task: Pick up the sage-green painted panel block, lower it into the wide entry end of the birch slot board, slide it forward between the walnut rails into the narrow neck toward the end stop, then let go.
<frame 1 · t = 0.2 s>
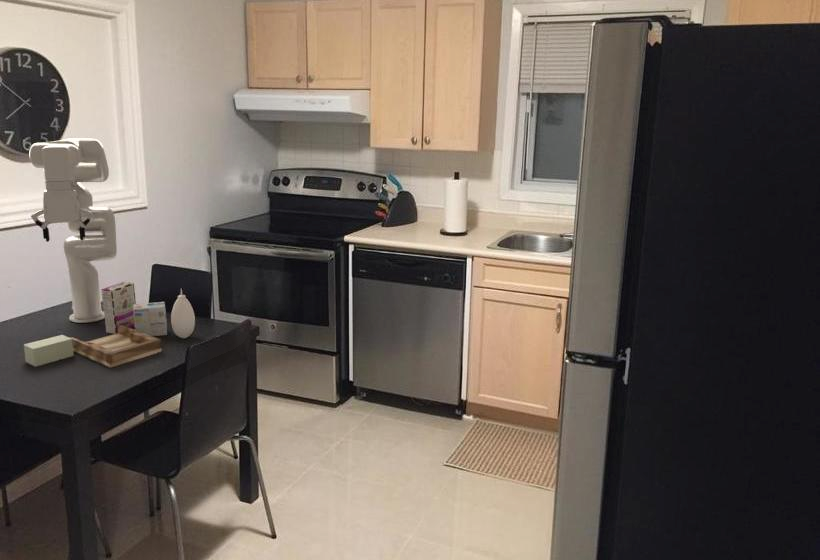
hand: (65, 240, 208), 37 cm above the table, tool pointing down, fingers open, 9 cm apart
panel: (50, 359, 208), on the table
slot board: (116, 350, 216), on the table
candy bar box: (122, 329, 237), on the table
light bulb box: (151, 334, 233), on the table
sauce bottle: (184, 337, 230), on the table
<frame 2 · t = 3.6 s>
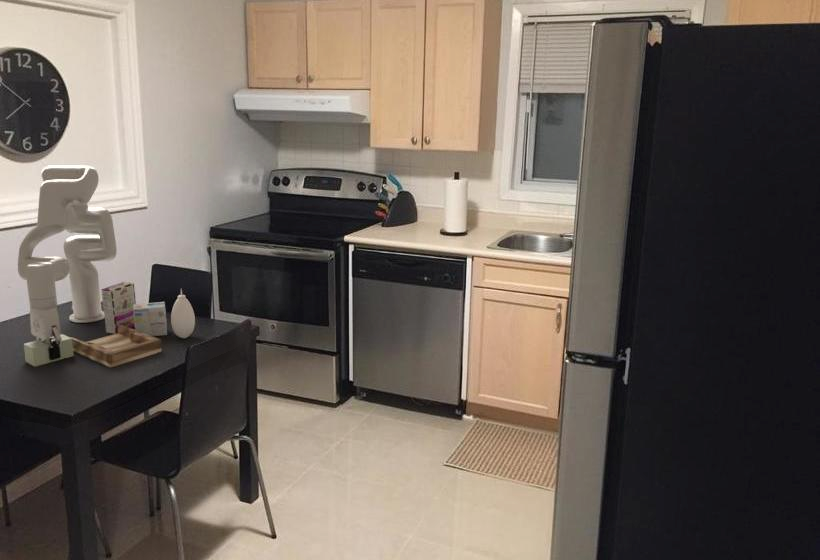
hand: (49, 355, 208), 1 cm above the table, tool pointing down, fingers closed on panel, 6 cm apart
panel: (50, 358, 208), on the table, touching gripper
everything else where it was.
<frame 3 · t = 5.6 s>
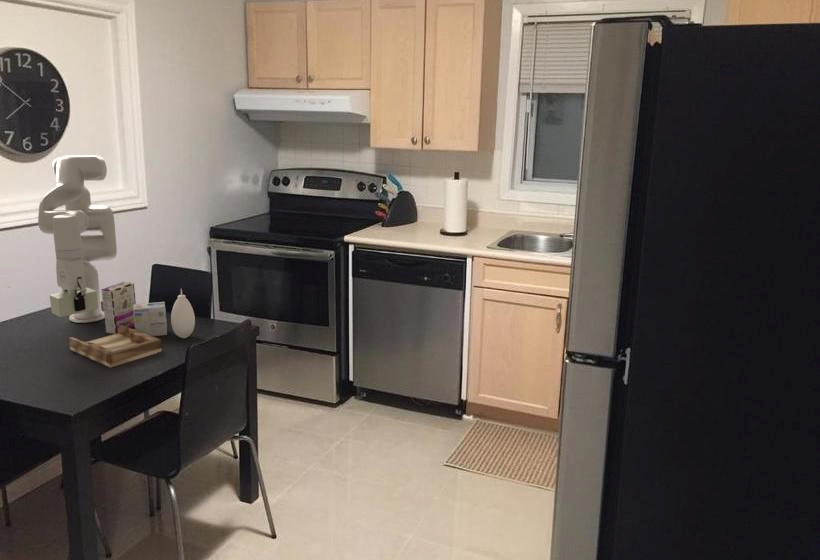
hand: (75, 307, 211), 15 cm above the table, tool pointing down, fingers closed on panel, 6 cm apart
panel: (75, 310, 211), point 14 cm above the table, touching gripper
everything else where it was.
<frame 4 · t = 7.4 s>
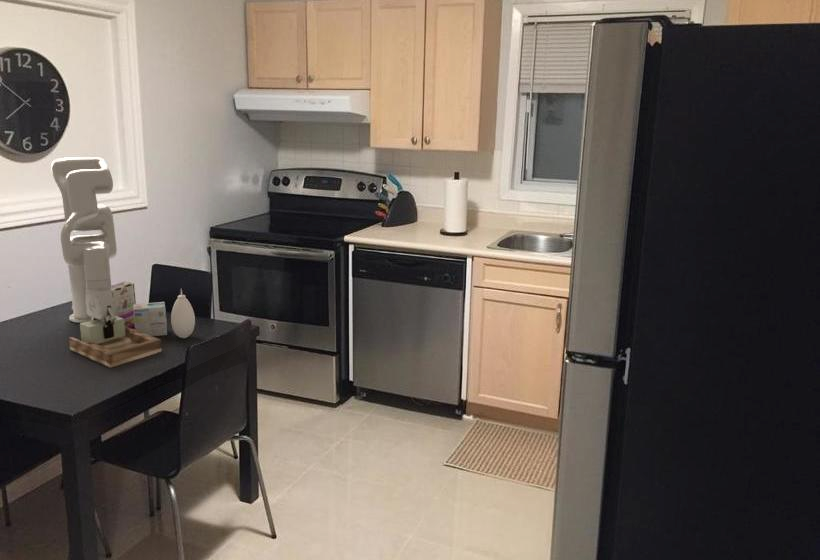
hand: (103, 335, 219), 4 cm above the table, tool pointing down, fingers closed on panel, 6 cm apart
panel: (103, 338, 219), point 3 cm above the table, touching gripper
everything else where it was.
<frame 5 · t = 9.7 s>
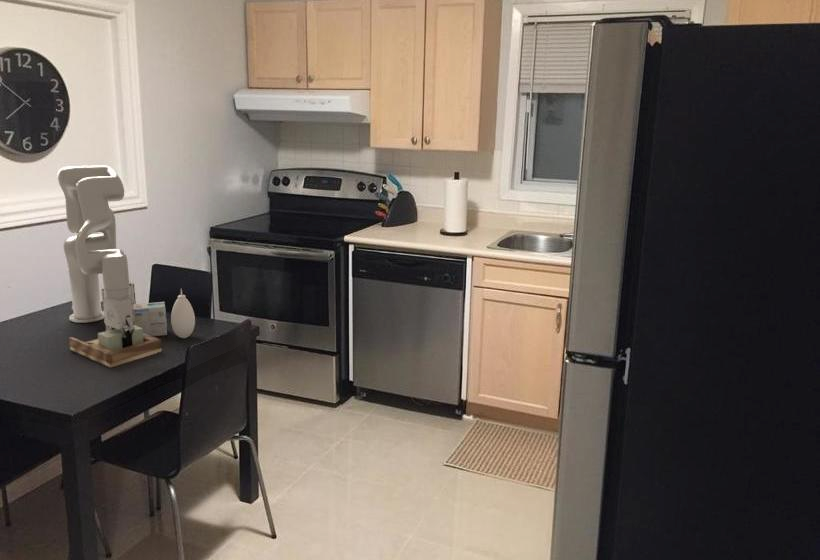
hand: (121, 345, 214), 3 cm above the table, tool pointing down, fingers closed on panel, 6 cm apart
panel: (122, 348, 214), point 2 cm above the table, touching gripper
everything else where it was.
when the fingers open (2 cm above the table, at t = 11.3 s): panel stays where it is, resting on slot board.
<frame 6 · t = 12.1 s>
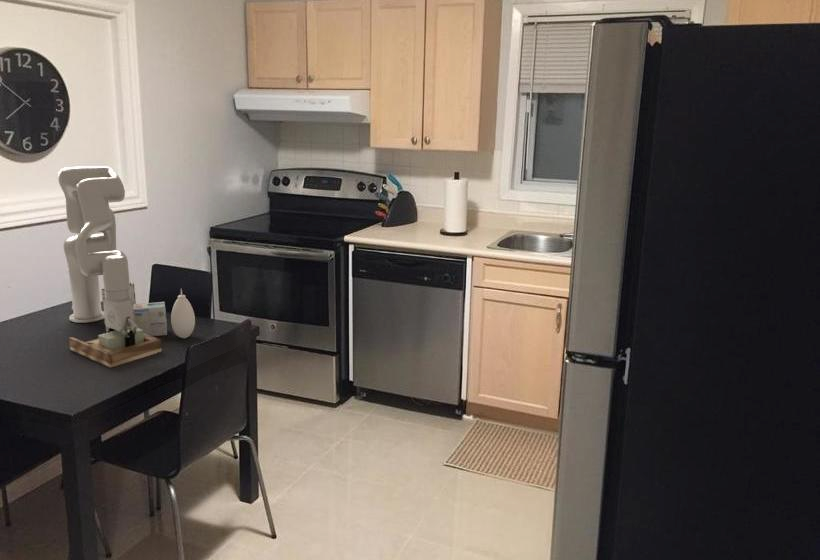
hand: (122, 344, 213), 3 cm above the table, tool pointing down, fingers open, 9 cm apart
panel: (122, 349, 214), point 1 cm above the table, touching slot board
everything else where it was.
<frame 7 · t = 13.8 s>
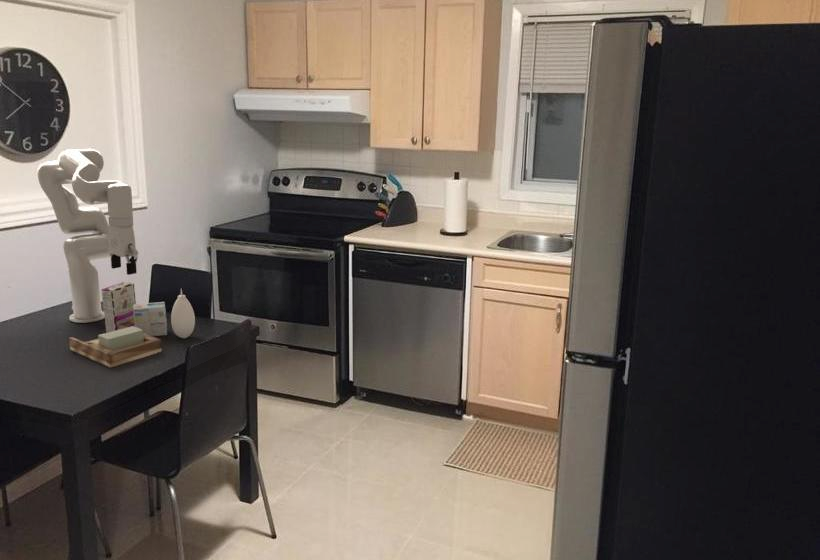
hand: (123, 270, 223), 24 cm above the table, tool pointing down, fingers open, 9 cm apart
nothing on the table moved.
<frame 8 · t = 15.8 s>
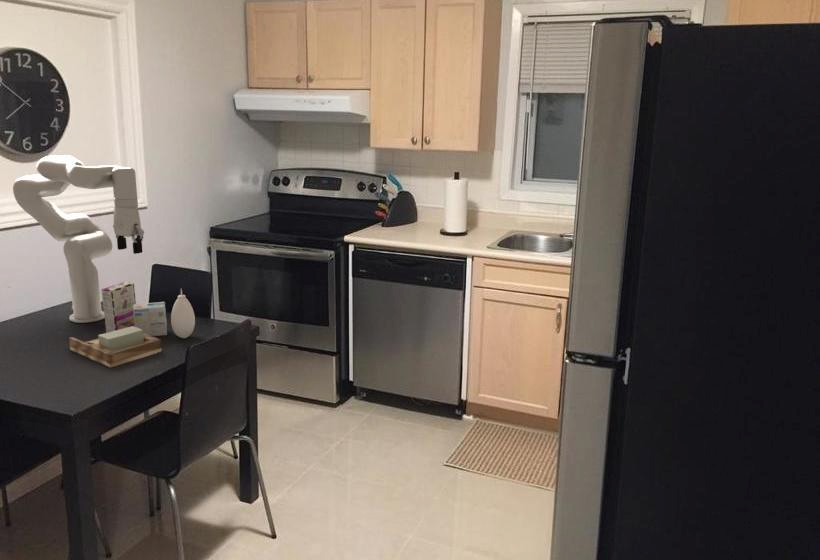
hand: (130, 251, 233), 28 cm above the table, tool pointing down, fingers open, 9 cm apart
nothing on the table moved.
at the end: panel 1.6 cm from the target spot on the slot board, point 1.2 cm above the slot board's base; panel tilted 0°; the gripper is holding nothing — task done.
